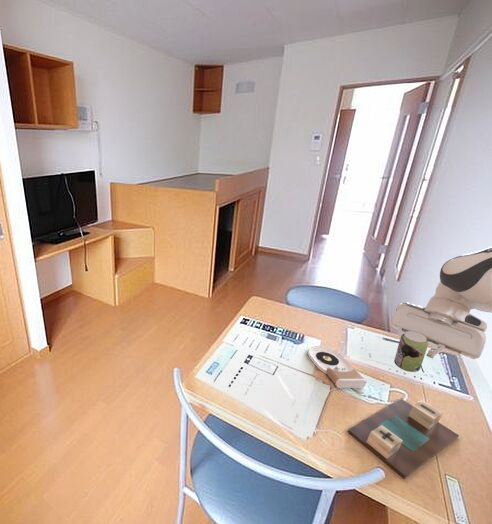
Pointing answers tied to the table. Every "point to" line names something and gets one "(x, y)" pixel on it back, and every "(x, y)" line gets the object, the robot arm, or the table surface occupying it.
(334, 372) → the record player
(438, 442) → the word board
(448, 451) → the table surface
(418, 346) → the beverage can
